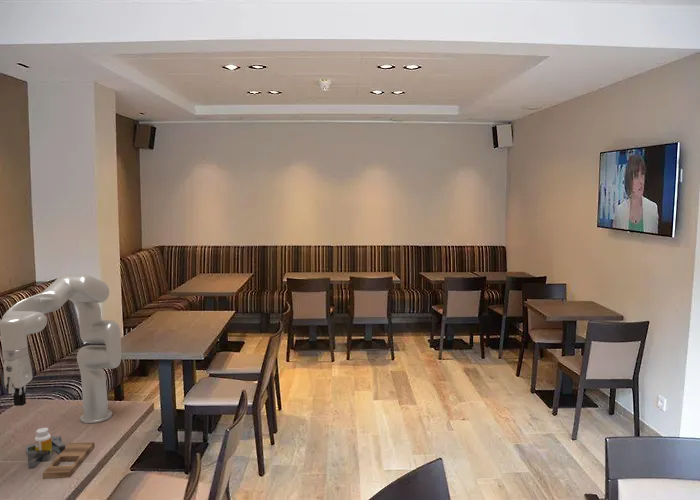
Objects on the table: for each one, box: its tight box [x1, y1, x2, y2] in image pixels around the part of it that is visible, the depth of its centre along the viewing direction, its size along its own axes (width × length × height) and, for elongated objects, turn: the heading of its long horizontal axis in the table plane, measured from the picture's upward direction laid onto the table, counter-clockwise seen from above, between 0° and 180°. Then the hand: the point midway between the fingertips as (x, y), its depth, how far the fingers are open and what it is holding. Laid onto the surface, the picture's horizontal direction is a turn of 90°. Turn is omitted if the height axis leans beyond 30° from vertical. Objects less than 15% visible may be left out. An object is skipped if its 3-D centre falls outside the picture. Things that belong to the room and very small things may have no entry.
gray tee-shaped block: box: [27, 450, 52, 469], centre depth 208 cm, size 7×7×3 cm
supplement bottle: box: [34, 427, 53, 456], centre depth 214 cm, size 5×5×10 cm
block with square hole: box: [42, 441, 95, 479], centre depth 209 cm, size 22×9×2 cm, turn 3°
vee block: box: [25, 435, 66, 456], centre depth 219 cm, size 9×14×3 cm, turn 93°
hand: (20, 404), depth 198 cm, fingers closed
